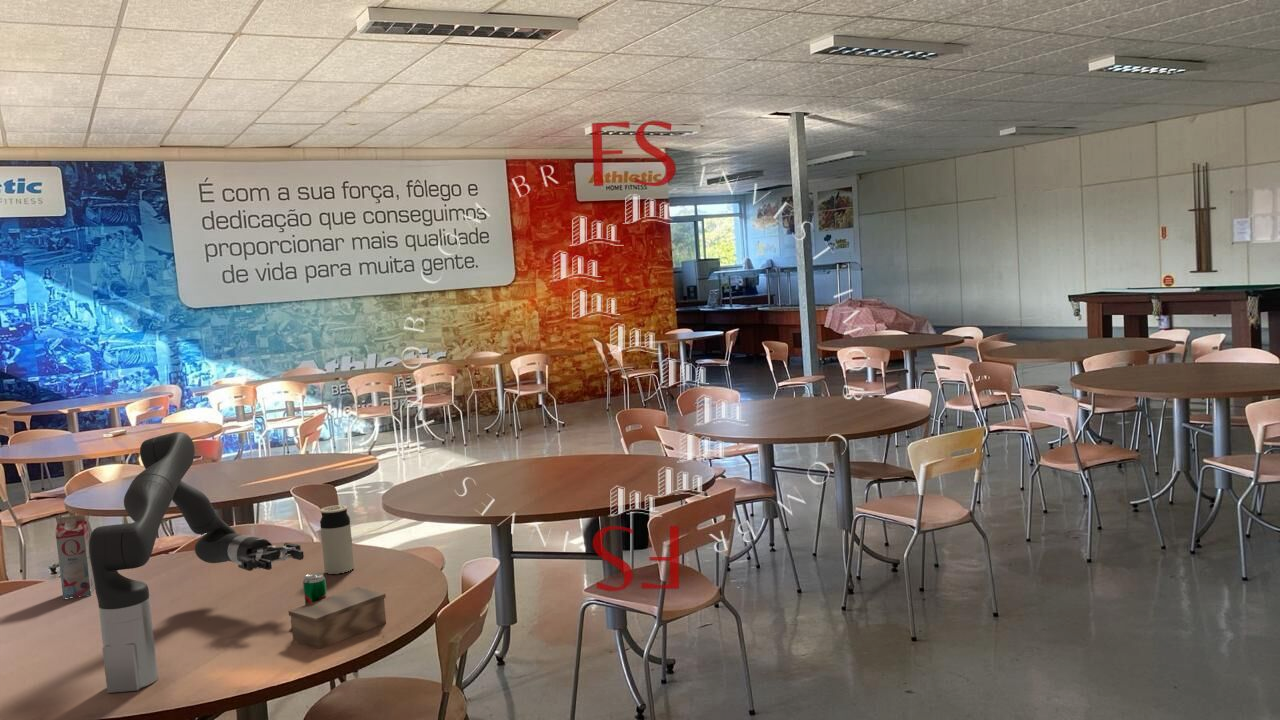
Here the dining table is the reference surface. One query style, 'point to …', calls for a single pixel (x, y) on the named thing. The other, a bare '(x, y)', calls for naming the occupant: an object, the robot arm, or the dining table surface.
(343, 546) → the travel mug
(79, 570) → the juice carton
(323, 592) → the soda can
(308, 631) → the shoebox
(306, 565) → the dining table surface
